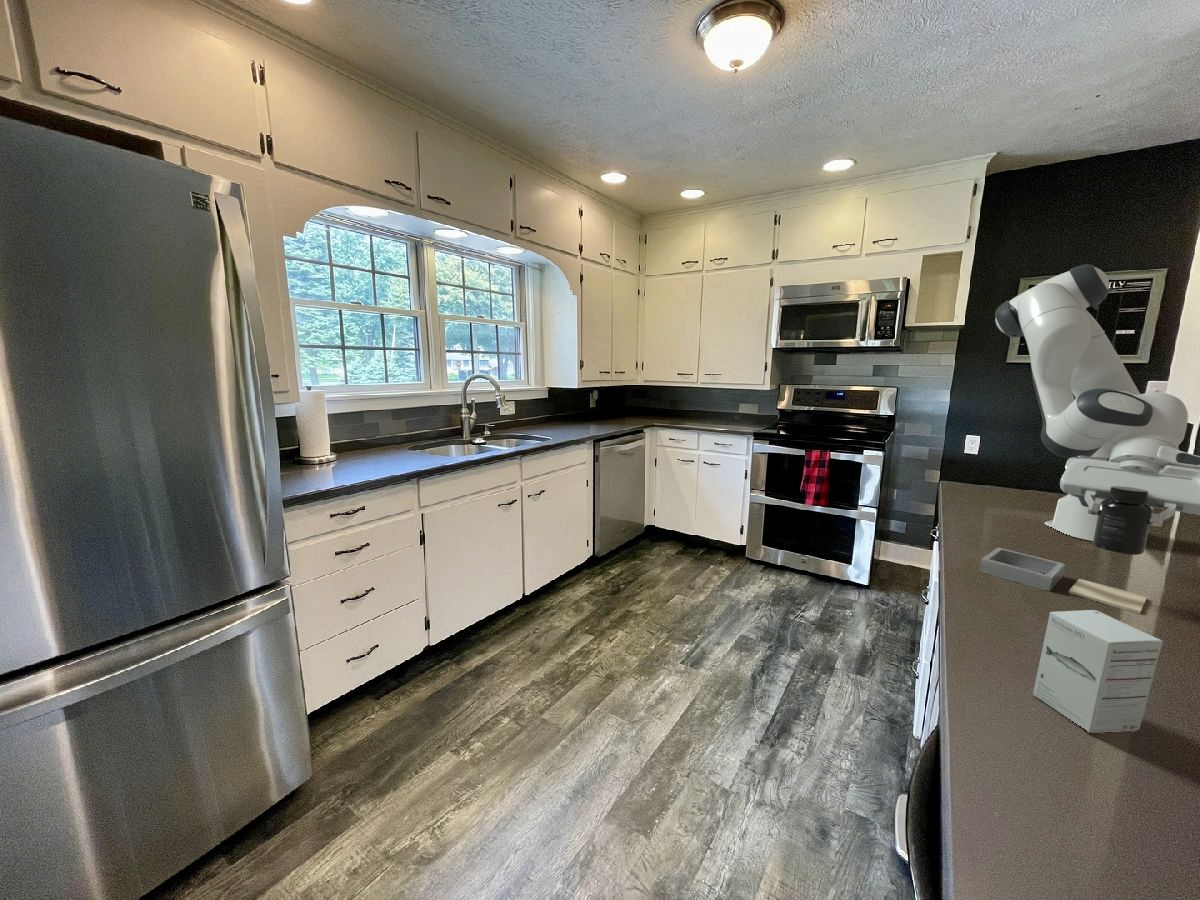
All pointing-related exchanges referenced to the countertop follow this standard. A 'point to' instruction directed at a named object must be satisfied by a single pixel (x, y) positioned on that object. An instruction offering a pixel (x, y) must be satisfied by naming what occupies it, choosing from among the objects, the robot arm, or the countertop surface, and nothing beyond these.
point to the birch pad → (1109, 595)
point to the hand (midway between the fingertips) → (1122, 518)
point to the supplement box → (1096, 670)
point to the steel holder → (1022, 568)
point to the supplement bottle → (1123, 521)
